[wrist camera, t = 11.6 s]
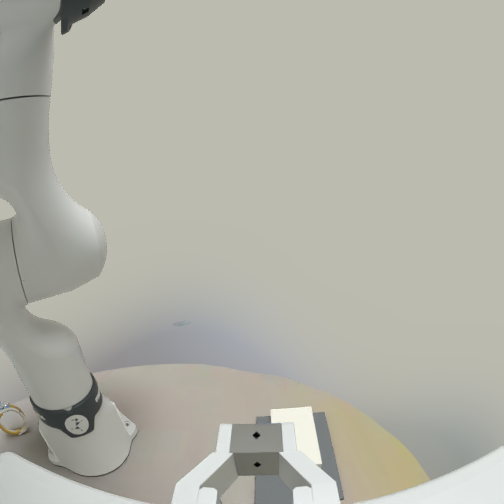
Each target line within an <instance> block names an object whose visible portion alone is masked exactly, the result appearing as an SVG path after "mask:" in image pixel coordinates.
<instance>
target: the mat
mask: <svg viewBox="0 0 504 504" xmlns="http://www.w3.org/2000/svg"><path fill="white" fill-rule="evenodd" d="M312 414H313V419H314V424H315V429H316V434H317V440H318V445H319V450H320V455H321V461H322V466H321V469H322V470H323V471H324V472H325V473H326V474H327V475H329V476H330V477H331V478H332V479H333V480H335V481H336V485H337V489H338V494H339V499H340V500H343V499H344V496H343V491H342V486H341V482H340V477H339V473H338V468H337V464H336V459H335V455H334V451H333V446H332V442H331V438H330V434H329V429H328V425H327V421H326V417H325V413H324V412H319V413H312ZM266 423H271V416H266V417H257V424H266ZM292 494H293V492H292V491H291V490H290V488H289V487H288V486H287V485H286V484H285V482H284V481H283V480H282V479H281V478H280V476H279V475H256V479H255V504H291V503H292Z"/></svg>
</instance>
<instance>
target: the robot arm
mask: <svg viewBox="0 0 504 504" xmlns="http://www.w3.org/2000/svg"><path fill="white" fill-rule="evenodd" d="M104 2H105V0H0V198H2V199H4V200H6V201H7V202H9V203H10V204H11V205H12V207H13V208H14V209H15V211H16V213H17V214H16V215H15V216H14V217H12V218H10V219H6V220H2V221H0V347H1V349H2V350H3V351H4V352H5V353H6V355H7V356H8V358H9V359H10V360H11V362H12V364H13V366H14V368H15V369H16V371H17V373H18V374H19V376H20V378H21V380H22V382H23V384H24V386H25V387H26V389H27V391H28V393H29V395H30V401H31V403H32V406H33V408H34V410H35V412H36V414H37V415H38V417H39V422H38V425H39V431H40V433H41V435H42V437H43V438H44V440H45V441H46V443H47V445H48V457H49V460H50V461H51V463H53V464H55V465H59V466H64V467H66V468H68V469H70V470H71V471H73V472H75V473H77V474H80V475H85V476H98V475H103V474H106V473H109V472H111V471H113V470H114V469H116V468H117V467H119V466H120V465H121V464H122V463H123V462H124V460H125V459H126V458H127V456H128V454H129V451H130V446H131V441H132V439H133V438H134V437H135V436H136V434H137V432H138V428H137V427H136V425H135V424H134V423H133V422H131V421H130V420H129V419H128V418H127V417H126V416H125V415H124V414H122V413H121V412H120V411H119V410H118V409H117V407H116V405H115V403H114V402H112V401H110V400H109V399H108V398H107V397H106V396H105V395H104V394H102V393H101V391H100V388H99V385H98V383H97V381H96V380H95V378H94V376H93V375H92V374H91V373H90V372H89V369H88V367H87V364H86V362H85V359H84V356H83V353H82V351H81V348H80V345H79V342H78V339H77V337H76V336H75V334H74V333H73V332H72V331H71V330H70V329H69V328H68V327H66V326H65V325H63V324H61V323H58V322H56V321H52V320H47V319H42V318H39V317H36V316H34V315H33V314H31V313H30V312H29V311H28V310H27V309H26V308H25V305H27V304H28V303H31V302H35V301H38V300H41V299H45V298H48V297H52V296H55V295H59V294H62V293H65V292H69V291H72V290H74V289H76V288H77V287H80V286H81V285H83V284H85V283H87V282H89V281H91V280H92V279H94V278H96V277H98V276H99V275H100V273H101V271H102V269H103V267H104V264H105V260H106V254H107V245H106V244H107V243H106V238H105V234H104V231H103V228H102V226H101V224H100V223H99V221H98V220H97V219H96V217H95V216H94V215H93V214H92V213H91V212H90V211H89V210H87V209H86V208H84V207H82V206H80V205H79V204H77V203H76V202H75V201H74V200H72V199H71V198H70V197H69V196H68V195H67V193H66V192H65V191H64V189H63V188H62V187H61V185H60V183H59V181H58V180H57V178H56V175H55V173H54V170H53V167H52V163H51V158H50V149H49V106H50V96H51V85H52V73H53V57H54V25H55V24H57V23H58V22H59V21H60V20H61V34H62V35H63V34H65V33H67V32H69V30H70V28H71V26H72V24H73V23H75V22H77V21H79V20H81V19H83V18H85V17H87V16H89V15H90V14H91V13H92V12H93V11H95V10H96V9H97V8H98V7H99V6H101V5H102V4H103V3H104ZM252 475H279V476H280V478H281V479H282V480H283V481H284V482H285V484H286V485H287V486H288V487H289V488H290V490H291V491H292V492H293V494H292V503H291V504H340V499H339V494H338V489H337V485H336V481H335V480H333V479H332V478H331V477H330V476H329V475H327V474H326V473H325V472H324V471H323V470H322V469H321V468H319V467H318V466H317V465H316V464H315V463H314V462H313V461H312V460H310V459H309V458H308V457H307V456H306V455H305V454H304V453H303V452H302V451H297V444H296V435H295V427H294V423H293V422H285V423H266V424H220V426H219V433H218V439H217V445H216V452H212V453H211V454H210V455H209V456H207V457H206V458H205V459H204V460H203V461H202V462H201V463H200V464H198V465H197V466H196V467H195V468H194V469H193V470H192V471H190V472H189V473H188V474H187V475H186V476H184V477H183V478H182V479H181V480H180V481H178V482H177V483H176V486H175V490H174V494H173V498H172V502H171V504H222V502H221V499H220V497H221V496H222V495H223V494H224V493H225V491H226V490H227V489H228V488H229V487H230V486H231V484H232V483H233V482H234V481H235V480H236V478H237V477H238V476H252ZM0 504H152V503H147V502H142V501H138V500H134V499H130V498H126V497H122V496H118V495H115V494H111V493H108V492H105V491H101V490H98V489H95V488H92V487H89V486H86V485H84V484H81V483H78V482H76V481H73V480H70V479H68V478H65V477H63V476H61V475H58V474H56V473H54V472H51V471H49V470H47V469H45V468H43V467H40V466H38V465H36V464H34V463H32V462H30V461H28V460H26V459H25V458H23V457H21V456H19V455H17V454H15V453H13V452H5V453H1V454H0ZM352 504H504V445H503V446H501V447H499V448H498V449H496V450H494V451H492V452H491V453H489V454H487V455H485V456H483V457H481V458H480V459H478V460H476V461H474V462H472V463H470V464H468V465H466V466H464V467H461V468H459V469H457V470H455V471H453V472H450V473H448V474H446V475H443V476H441V477H439V478H436V479H434V480H431V481H428V482H426V483H423V484H420V485H417V486H415V487H412V488H409V489H406V490H402V491H399V492H396V493H393V494H389V495H386V496H382V497H378V498H374V499H370V500H366V501H362V502H357V503H352Z"/></svg>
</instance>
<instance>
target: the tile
mask: <svg viewBox="0 0 504 504" xmlns="http://www.w3.org/2000/svg"><path fill="white" fill-rule="evenodd" d="M285 422H293V423H294V427H295V435H296V444H297V451H302V452H303V453H304V454H305V455H306V456H307V457H308V458H309V459H310V460H312V461H313V462H314V463H315V464H316V465H317V466H318V467H319V468H321V466H322V461H321V455H320V450H319V445H318V440H317V434H316V429H315V424H314V419H313V414H312V409H311V407H300V408H287V409H271V423H285Z"/></svg>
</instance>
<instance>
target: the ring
mask: <svg viewBox="0 0 504 504" xmlns="http://www.w3.org/2000/svg"><path fill="white" fill-rule="evenodd" d="M8 411H14V412H16V413H18V414H19V415H20V416H21V417H22V418H23V420H24V426H23V427H22V428H21V429H17V430H16V431H14V430H9V429H7V428H5V427H4V426H3V425H2V424H1V422H0V428H1V429H2V430H3V431H4V432H6V433H8V434H12V435H22V433H24V432H25V431H26V429H27V420H26V417H25V415H24V413H23V412H22V411H21V410H20V409H19V408H18V407H16V406H14V405H11V404H9V403H8V404H7V402H2V403H1V402H0V418H1V416H2V415H3V413H5V412H8Z"/></svg>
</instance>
